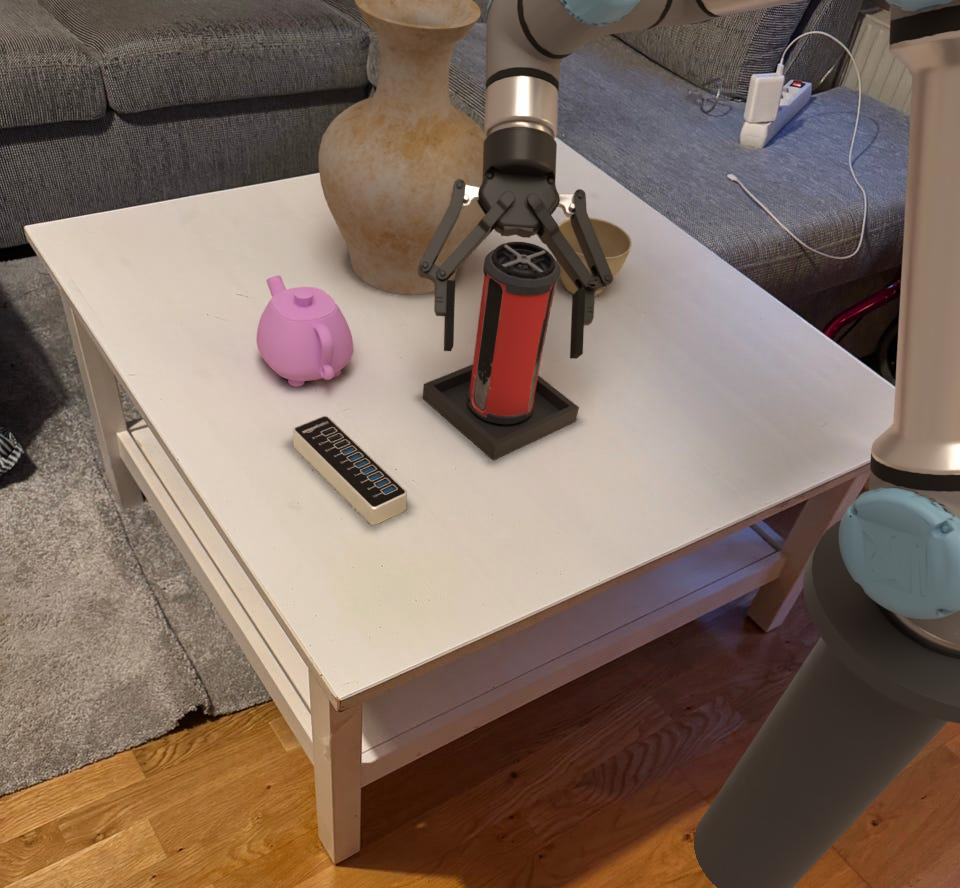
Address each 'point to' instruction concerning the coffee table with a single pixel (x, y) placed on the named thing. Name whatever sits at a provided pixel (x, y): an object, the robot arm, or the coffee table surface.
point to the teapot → (303, 334)
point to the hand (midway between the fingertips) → (512, 352)
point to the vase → (404, 147)
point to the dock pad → (492, 437)
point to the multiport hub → (350, 470)
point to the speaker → (511, 331)
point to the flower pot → (610, 241)
